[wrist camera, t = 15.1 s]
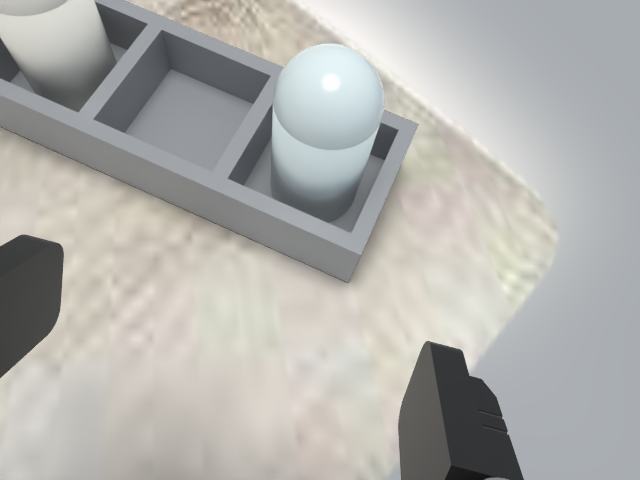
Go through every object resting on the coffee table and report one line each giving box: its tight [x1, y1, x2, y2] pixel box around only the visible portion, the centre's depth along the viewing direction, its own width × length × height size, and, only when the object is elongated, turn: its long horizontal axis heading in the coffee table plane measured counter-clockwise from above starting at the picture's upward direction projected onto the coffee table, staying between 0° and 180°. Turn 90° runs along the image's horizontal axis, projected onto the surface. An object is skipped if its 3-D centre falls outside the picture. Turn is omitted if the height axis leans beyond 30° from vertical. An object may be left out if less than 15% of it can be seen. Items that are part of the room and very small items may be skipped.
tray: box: [0, 0, 419, 283], centre depth 28 cm, size 22×8×4 cm, turn 66°
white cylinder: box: [0, 0, 117, 113], centre depth 25 cm, size 5×5×9 cm
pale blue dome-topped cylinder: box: [271, 43, 384, 223], centre depth 24 cm, size 5×5×9 cm
